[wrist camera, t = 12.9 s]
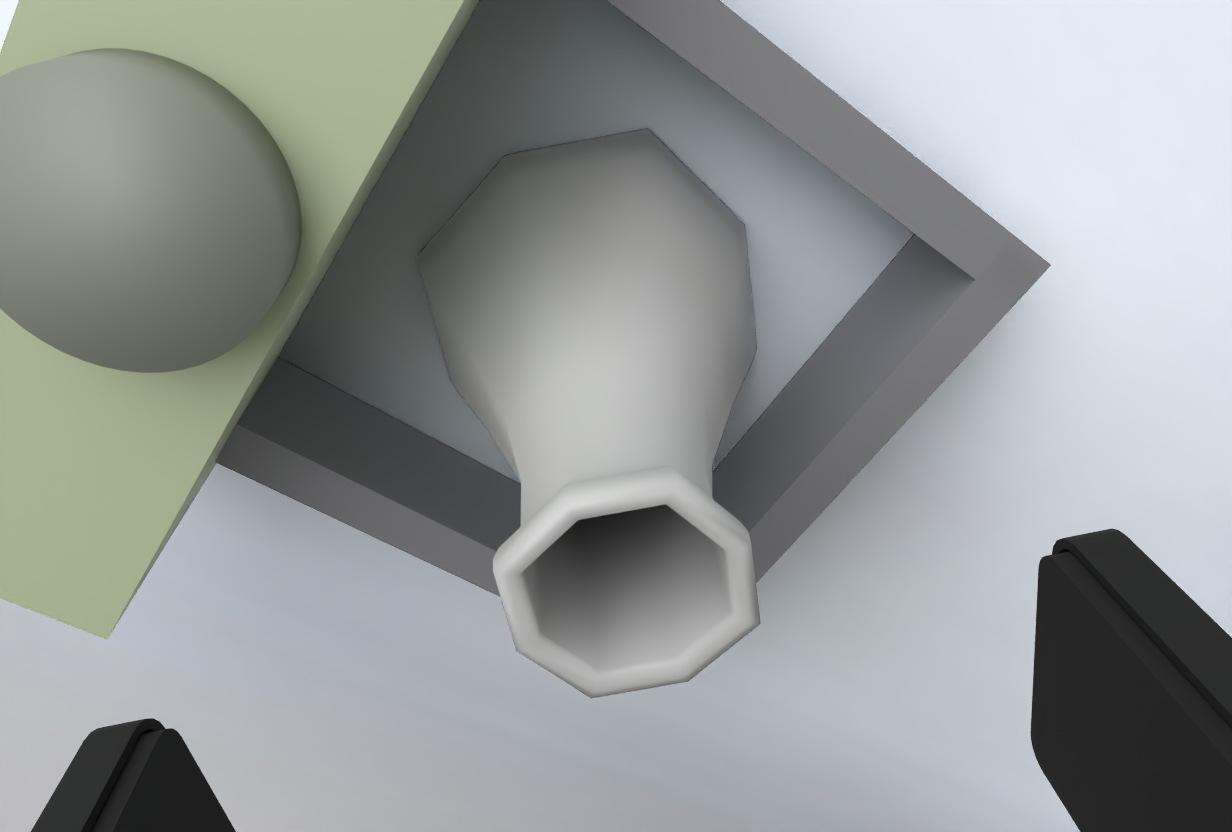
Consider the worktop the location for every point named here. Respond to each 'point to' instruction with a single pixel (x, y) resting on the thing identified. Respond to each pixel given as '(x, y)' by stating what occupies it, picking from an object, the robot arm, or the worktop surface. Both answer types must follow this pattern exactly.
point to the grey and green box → (300, 256)
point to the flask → (605, 401)
